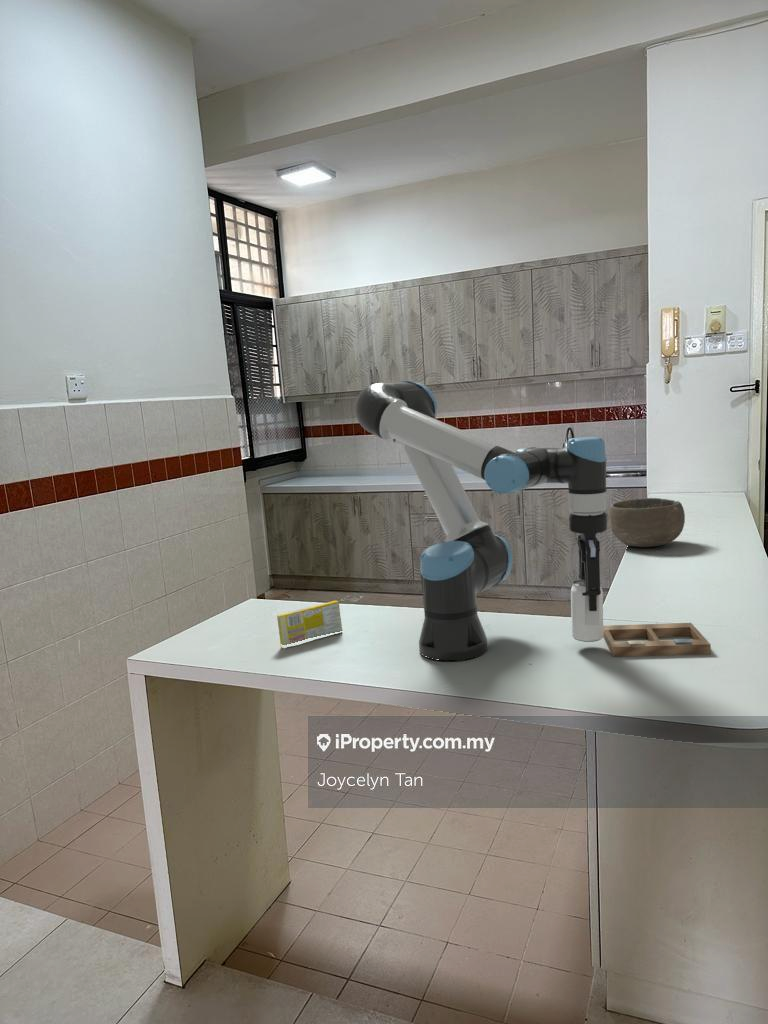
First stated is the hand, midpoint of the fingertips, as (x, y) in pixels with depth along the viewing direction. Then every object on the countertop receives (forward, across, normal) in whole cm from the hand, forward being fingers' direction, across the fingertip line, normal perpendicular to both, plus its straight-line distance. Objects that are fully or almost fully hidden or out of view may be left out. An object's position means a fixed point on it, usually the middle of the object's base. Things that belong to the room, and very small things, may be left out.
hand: (590, 619), depth 149 cm
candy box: (+8, +12, +64) cm, 66 cm away
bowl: (+7, +101, -33) cm, 106 cm away
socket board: (+6, +2, -13) cm, 15 cm away
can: (+4, 0, +1) cm, 4 cm away
